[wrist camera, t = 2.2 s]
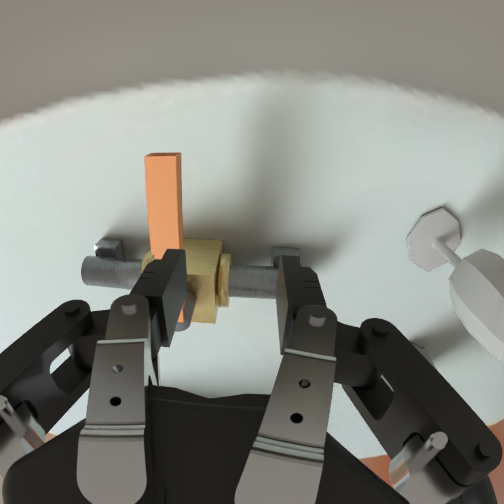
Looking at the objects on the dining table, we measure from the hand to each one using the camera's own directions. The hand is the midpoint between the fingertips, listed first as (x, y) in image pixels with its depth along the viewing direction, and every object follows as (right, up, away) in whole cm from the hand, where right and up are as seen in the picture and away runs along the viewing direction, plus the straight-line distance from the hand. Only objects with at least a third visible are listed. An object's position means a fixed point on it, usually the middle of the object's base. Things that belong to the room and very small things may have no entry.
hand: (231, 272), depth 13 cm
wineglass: (+25, +3, +23) cm, 34 cm away
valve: (-6, 0, +25) cm, 26 cm away
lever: (-6, +2, +15) cm, 16 cm away
